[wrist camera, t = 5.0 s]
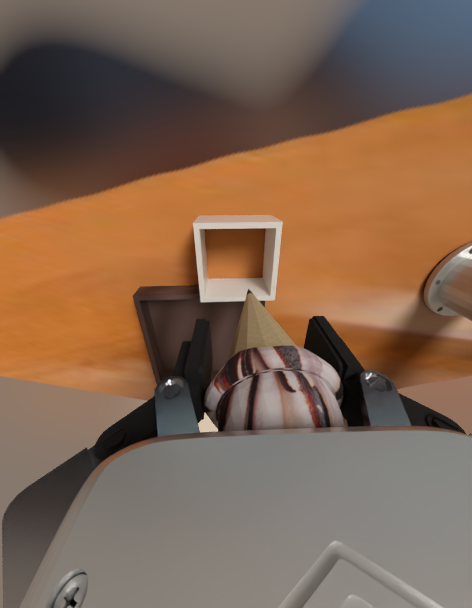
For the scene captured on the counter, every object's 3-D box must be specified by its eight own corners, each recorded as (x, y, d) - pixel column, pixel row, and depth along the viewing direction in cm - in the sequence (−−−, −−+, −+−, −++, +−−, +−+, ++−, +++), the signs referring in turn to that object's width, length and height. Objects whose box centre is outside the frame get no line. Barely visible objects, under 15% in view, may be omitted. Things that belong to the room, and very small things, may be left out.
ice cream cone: (203, 278, 18) (143, 523, 5) (263, 243, 17) (394, 447, 4) (237, 325, 20) (256, 569, 7) (290, 297, 19) (427, 533, 6)
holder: (271, 214, 27) (282, 221, 22) (266, 281, 31) (274, 300, 26) (198, 215, 26) (192, 223, 21) (204, 282, 31) (200, 302, 26)
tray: (262, 283, 32) (265, 292, 29) (256, 369, 40) (259, 382, 38) (140, 286, 31) (132, 296, 28) (162, 373, 40) (157, 386, 37)
